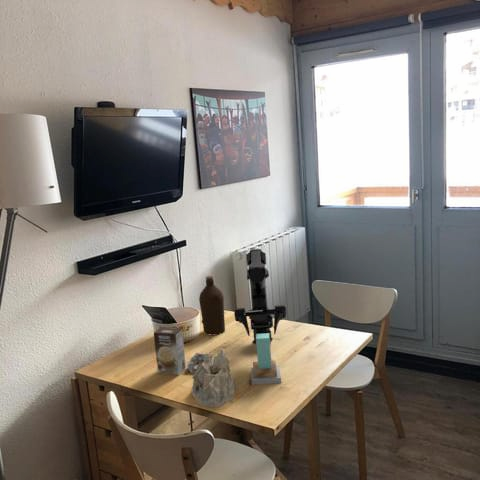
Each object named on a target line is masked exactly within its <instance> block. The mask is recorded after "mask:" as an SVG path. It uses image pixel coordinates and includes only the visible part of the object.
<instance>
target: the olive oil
mask: <svg viewBox="0 0 480 480" xmlns="http://www.w3.org/2000/svg"><path fill="white" fill-rule="evenodd" d="M205 284H206V285H205V286H204V288H203V289H202V290H201V292H200V293H199V298H198V301H199V307H200V313H201V314H200V315H201V324H202V327H203V333H204V332H205V333H206V334H205V333H204V334H205V335H207V334H211V335H210V336H214V335H213V334H217V335H221V334H223V333H225V331H226V324H225V322H226V321H225V306H224V305H225V303H224V301H225V300H224V299H225V298H224V295H223V292H222V290H221V289H220V288H218V287H217V286H216V285H215V283H214V276H213V275H208V276H205ZM220 333H221V334H220Z"/></svg>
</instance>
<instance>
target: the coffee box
mask: <svg viewBox="0 0 480 480" xmlns="http://www.w3.org/2000/svg"><path fill="white" fill-rule="evenodd" d="M153 339H154V348H155V357H156V367H157V374H161V373H163V374H164V375H171V374H173V375H174V376H180V375H181V374H182V373H183V372H184V371H185V370H186V369H187V364H186V357H185V345H184V337H183V328H181V327H173V326H172V327H171V326H170V327H168V326H161V327H159V328H158V329H156V330H155V331H154V332H153ZM185 368H186V369H185Z"/></svg>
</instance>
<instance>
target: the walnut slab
mask: <svg viewBox="0 0 480 480" xmlns="http://www.w3.org/2000/svg"><path fill="white" fill-rule="evenodd" d="M276 363H277V362H276V360H274V359H273V360H271V368H266V369H258V361H253V362H252V367H253V375H254V378H268V377H277V369H276V366H277V364H276Z"/></svg>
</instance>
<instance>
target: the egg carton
mask: <svg viewBox="0 0 480 480" xmlns="http://www.w3.org/2000/svg"><path fill="white" fill-rule="evenodd" d="M204 354H205V353H198V352H195V354H194V355H193V356H192V357H190V359H189V360H188V361H187V362H185V365H186V368H187V370H188V372H190V373H192V372H193V373H196V372H197V371H198V369H199V368H200V366H201V365H202V364H203V362H204ZM210 361H211V364H212V365H213V355H212V354H211V355H210ZM197 363H198V365H196V364H197ZM194 365H195V366H194Z"/></svg>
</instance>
